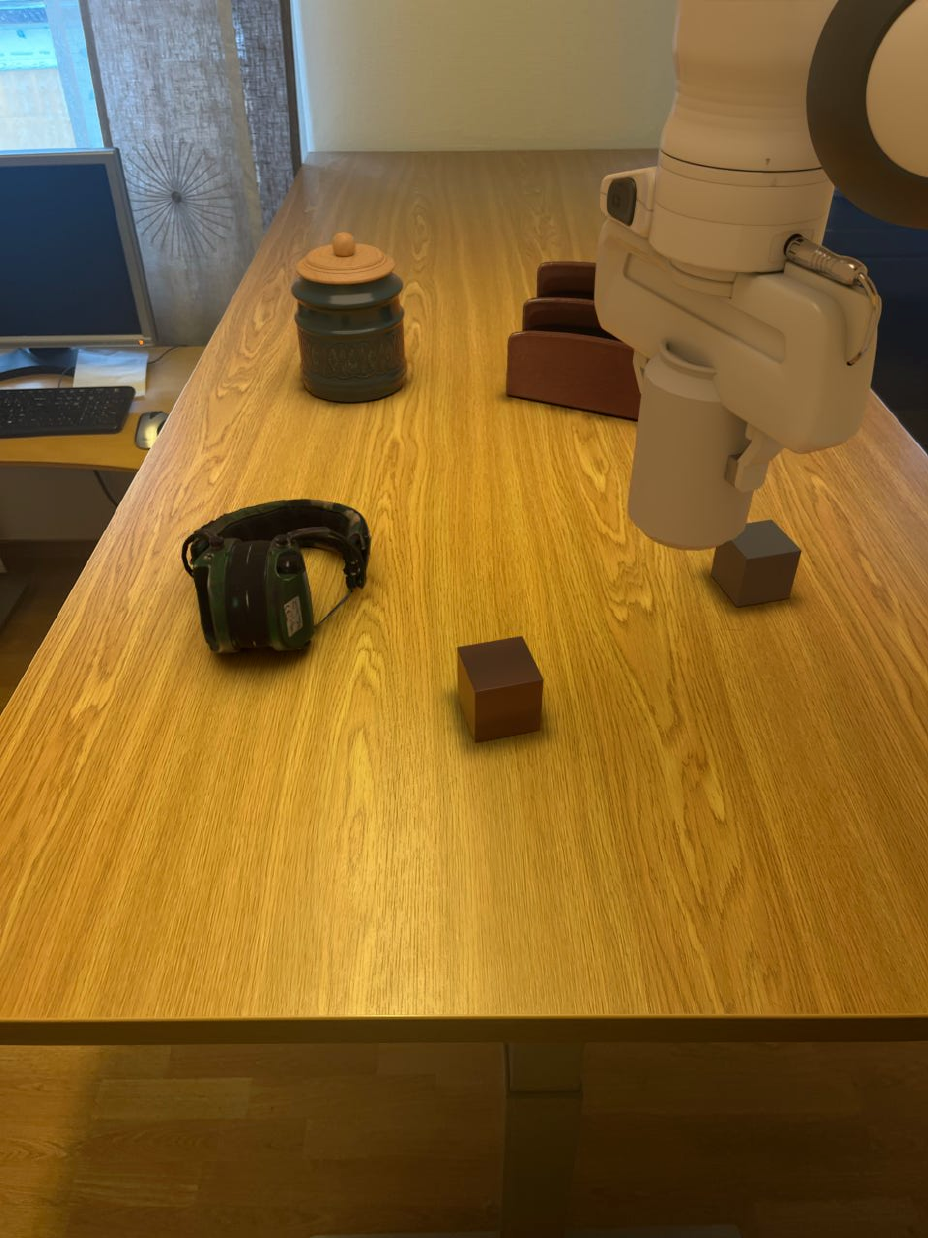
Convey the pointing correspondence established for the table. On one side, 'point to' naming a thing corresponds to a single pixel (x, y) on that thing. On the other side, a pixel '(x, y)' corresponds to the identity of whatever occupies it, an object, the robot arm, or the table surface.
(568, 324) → the letter holder
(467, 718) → the walnut block
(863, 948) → the table surface
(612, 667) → the table surface
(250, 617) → the headphones
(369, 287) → the canister
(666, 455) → the can
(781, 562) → the slate block
